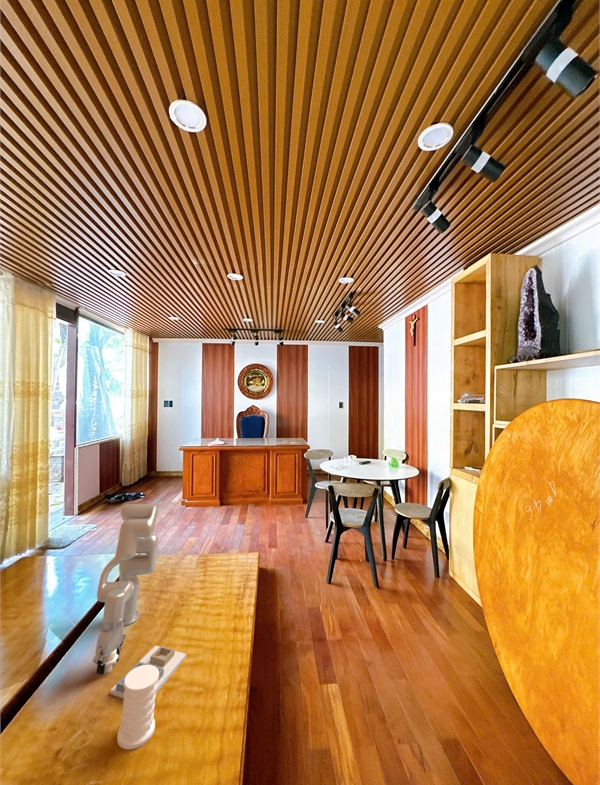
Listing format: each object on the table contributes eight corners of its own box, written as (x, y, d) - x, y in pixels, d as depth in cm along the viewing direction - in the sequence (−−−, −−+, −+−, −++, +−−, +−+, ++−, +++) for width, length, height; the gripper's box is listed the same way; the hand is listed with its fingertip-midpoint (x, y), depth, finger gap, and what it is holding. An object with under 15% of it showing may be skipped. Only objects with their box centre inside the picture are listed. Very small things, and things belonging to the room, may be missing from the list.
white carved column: (147, 749, 107) (153, 690, 108) (110, 749, 106) (116, 690, 107) (159, 716, 118) (164, 664, 119) (126, 716, 117) (131, 663, 119)
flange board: (110, 694, 126) (111, 683, 126) (155, 648, 151) (156, 639, 151) (145, 706, 122) (146, 694, 122) (186, 657, 147) (186, 648, 147)
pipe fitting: (119, 664, 141) (121, 644, 141) (110, 677, 134) (112, 656, 134) (104, 663, 141) (106, 643, 141) (94, 676, 133) (97, 655, 134)
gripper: (121, 609, 148) (116, 650, 146) (87, 633, 131) (82, 680, 130) (135, 612, 146) (130, 654, 145) (103, 637, 129) (97, 685, 128)
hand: (107, 666), depth 137 cm, fingers closed on pipe fitting, 7 cm apart
